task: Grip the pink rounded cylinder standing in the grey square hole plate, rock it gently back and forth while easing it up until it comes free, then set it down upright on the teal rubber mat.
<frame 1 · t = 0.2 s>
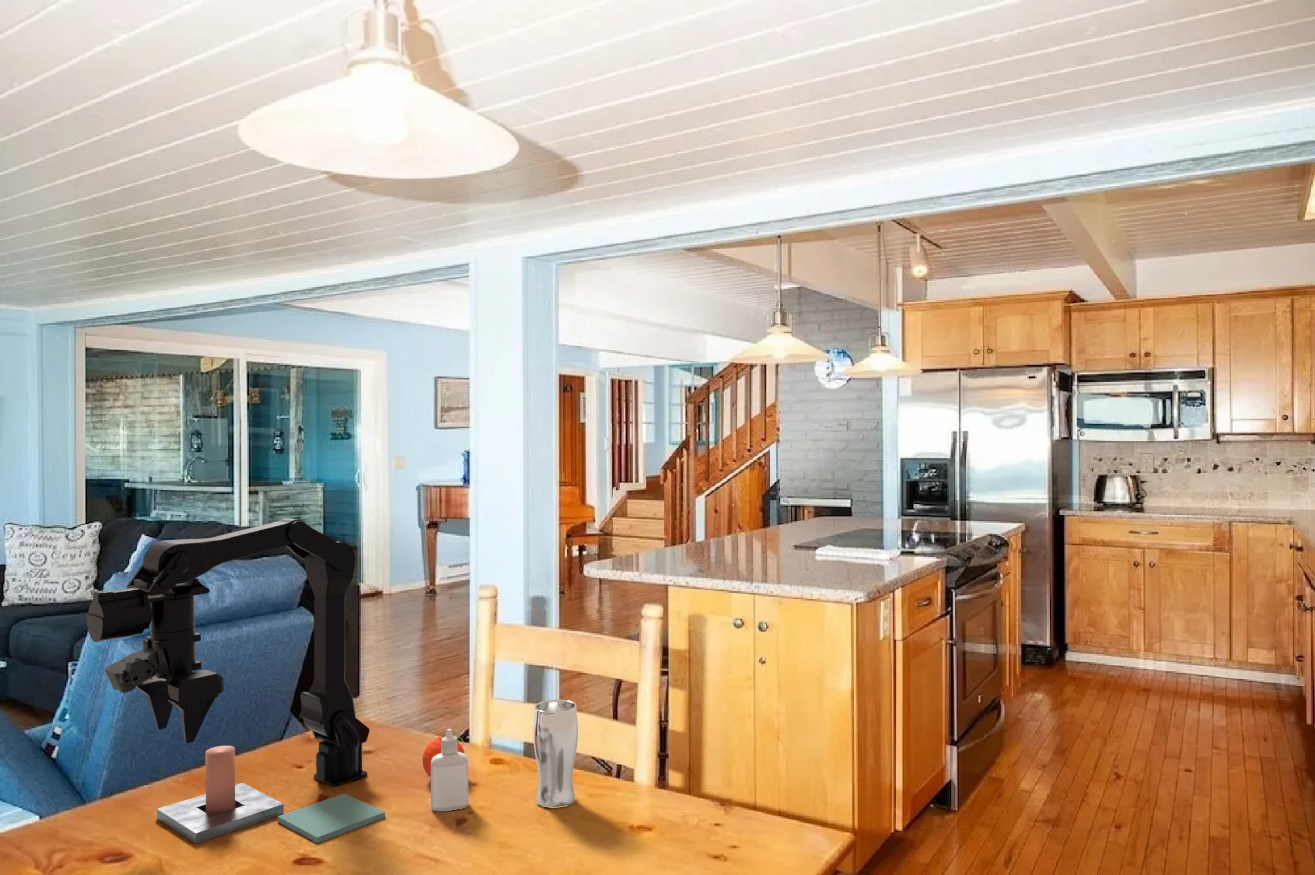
hand: (175, 735, 133), 14 cm above the table, tool pointing down, fingers open, 9 cm apart
grey square hole plate: (220, 816, 138), on the table
pink rounded cylinder: (220, 783, 138), in the grey square hole plate
beer glass: (555, 802, 144), on the table
clementine: (446, 779, 153), on the table
eye dropper bottle: (449, 808, 141), on the table
rubber mat: (331, 819, 137), on the table
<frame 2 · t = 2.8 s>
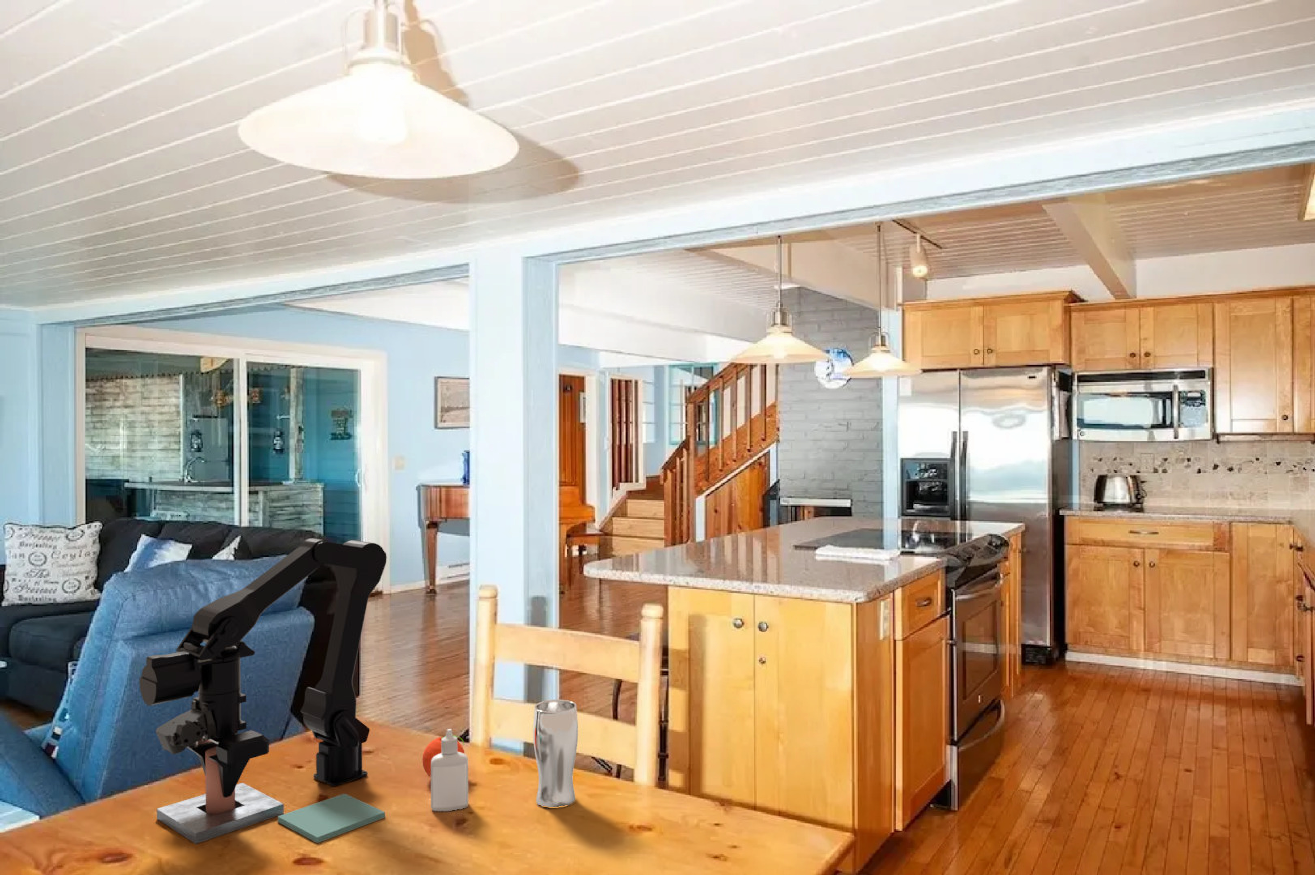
hand: (220, 793, 138), 4 cm above the table, tool pointing down, fingers closed on pink rounded cylinder, 4 cm apart
pink rounded cylinder: (220, 783, 138), in the grey square hole plate, touching gripper
everything else where it was.
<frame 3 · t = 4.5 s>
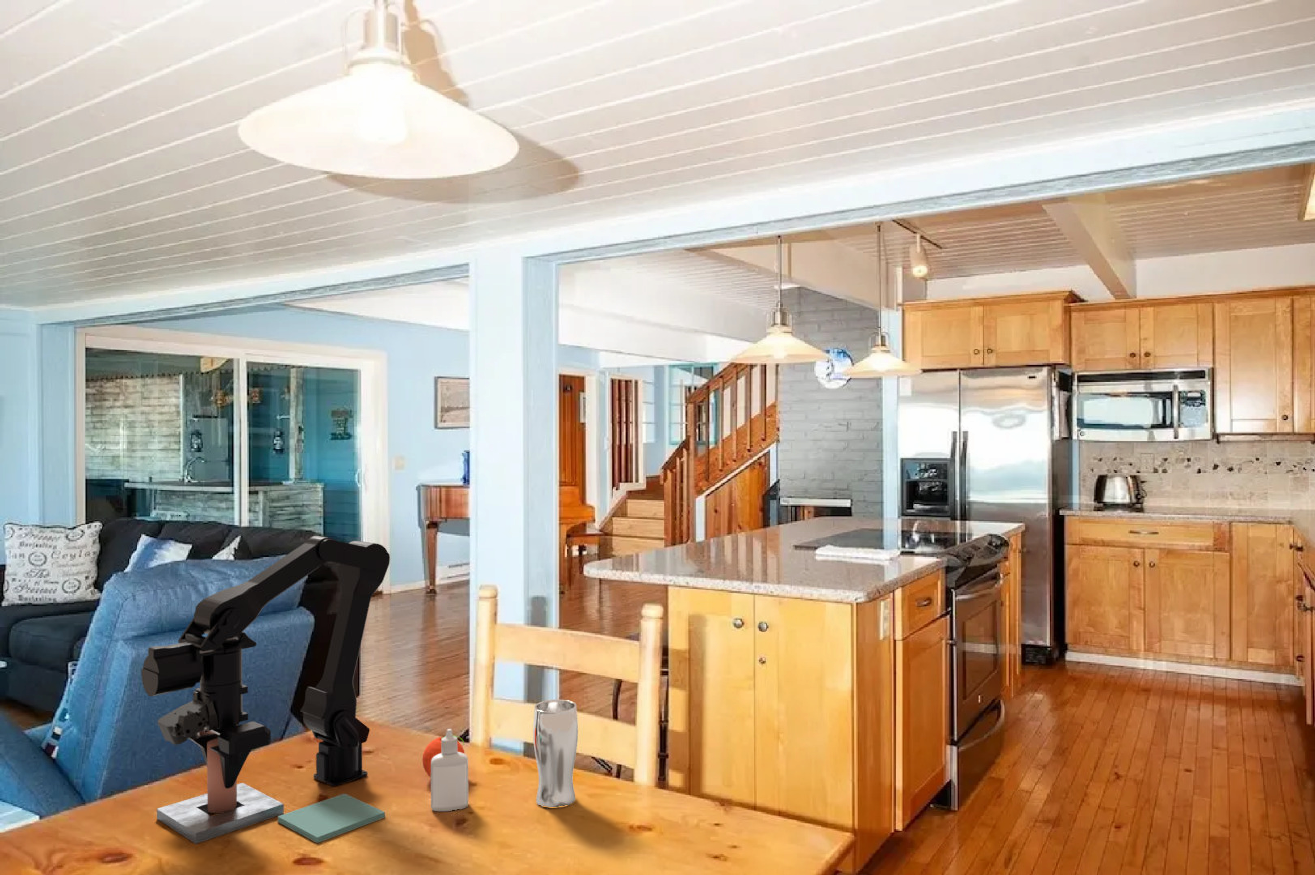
hand: (222, 784, 138), 5 cm above the table, tool pointing down, fingers closed on pink rounded cylinder, 4 cm apart
pink rounded cylinder: (222, 774, 138), point 6 cm above the table, touching gripper
everything else where it was.
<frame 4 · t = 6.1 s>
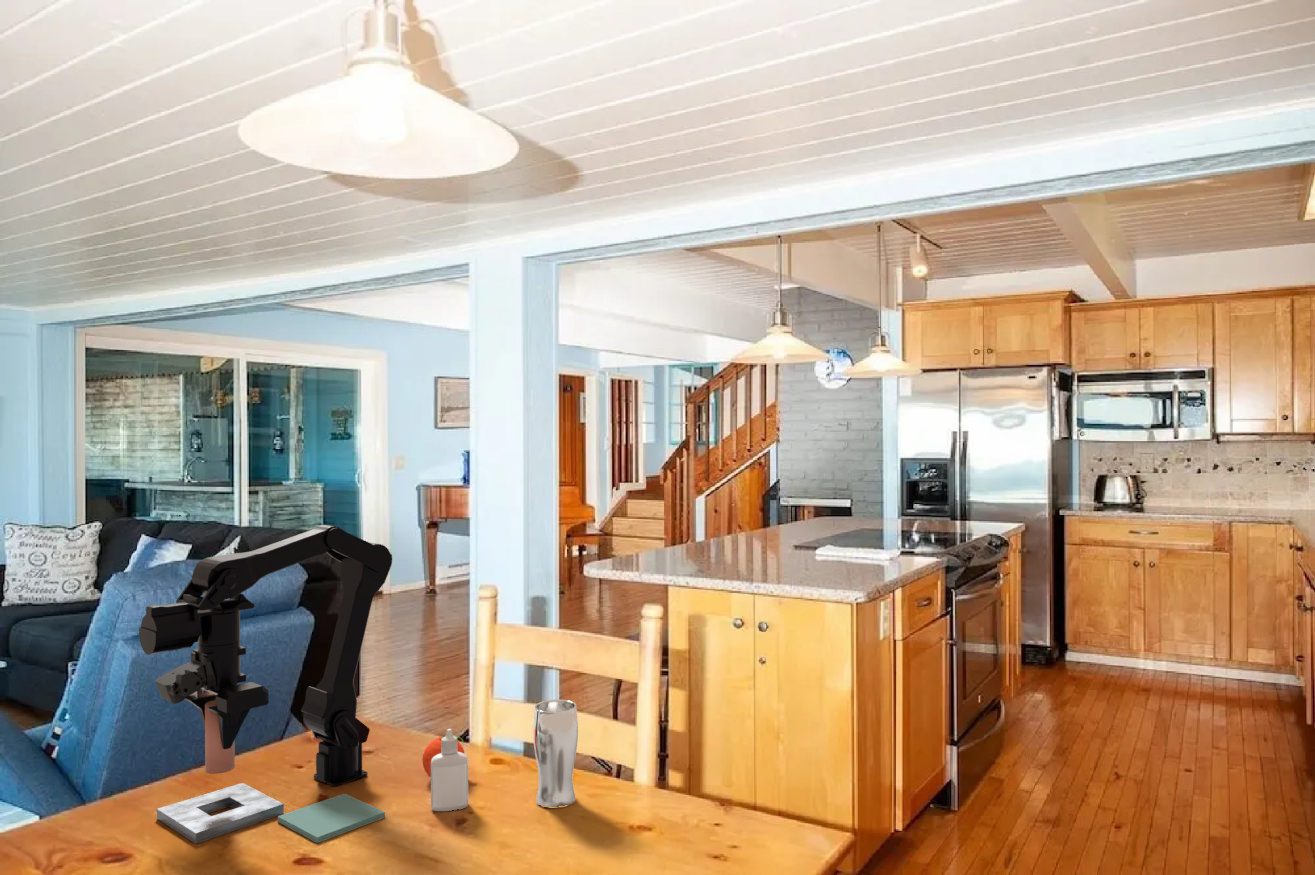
hand: (220, 745, 138), 11 cm above the table, tool pointing down, fingers closed on pink rounded cylinder, 4 cm apart
pink rounded cylinder: (219, 735, 138), point 12 cm above the table, touching gripper
everything else where it was.
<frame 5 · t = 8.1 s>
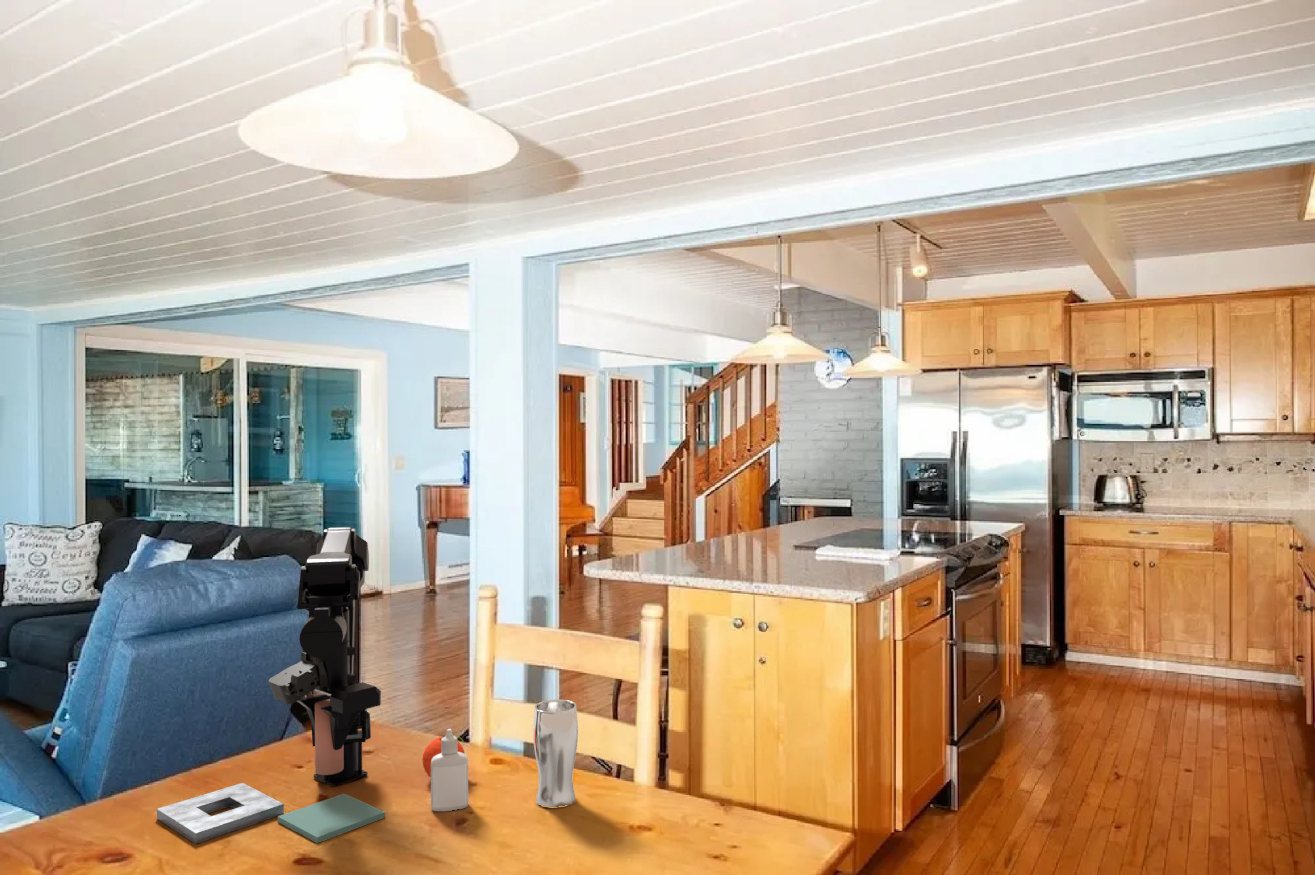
hand: (329, 746, 137), 11 cm above the table, tool pointing down, fingers closed on pink rounded cylinder, 4 cm apart
pink rounded cylinder: (329, 736, 137), point 12 cm above the table, touching gripper
everything else where it was.
when the fingers open (6 cm above the table, at t = 9.6 s): pink rounded cylinder drops 1 cm, resting on rubber mat.
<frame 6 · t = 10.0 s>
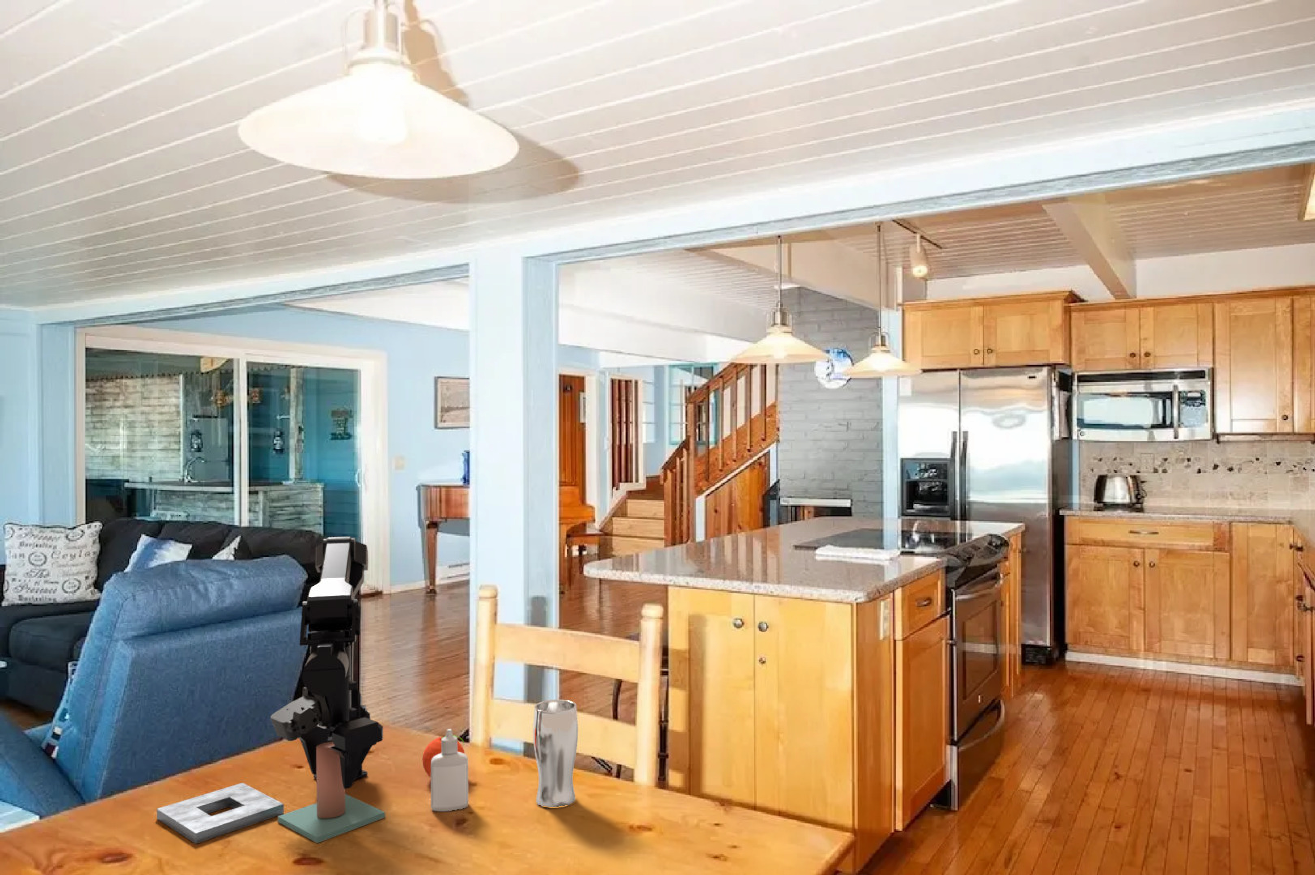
hand: (331, 780, 137), 6 cm above the table, tool pointing down, fingers open, 8 cm apart
pink rounded cylinder: (330, 779, 137), on the rubber mat, point 6 cm above the table
everything else where it was.
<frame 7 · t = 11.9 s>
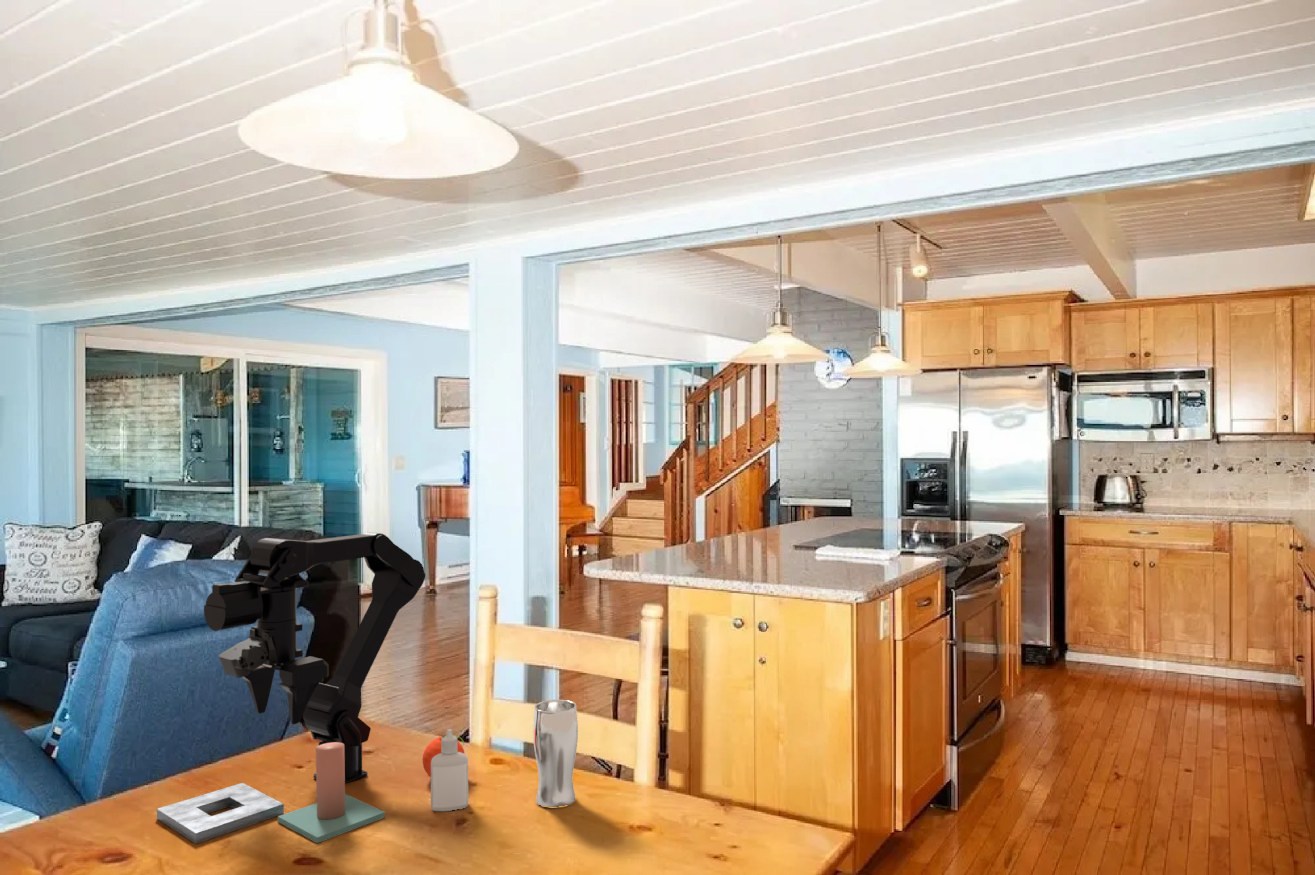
hand: (277, 718, 144), 13 cm above the table, tool pointing down, fingers open, 9 cm apart
nothing on the table moved.
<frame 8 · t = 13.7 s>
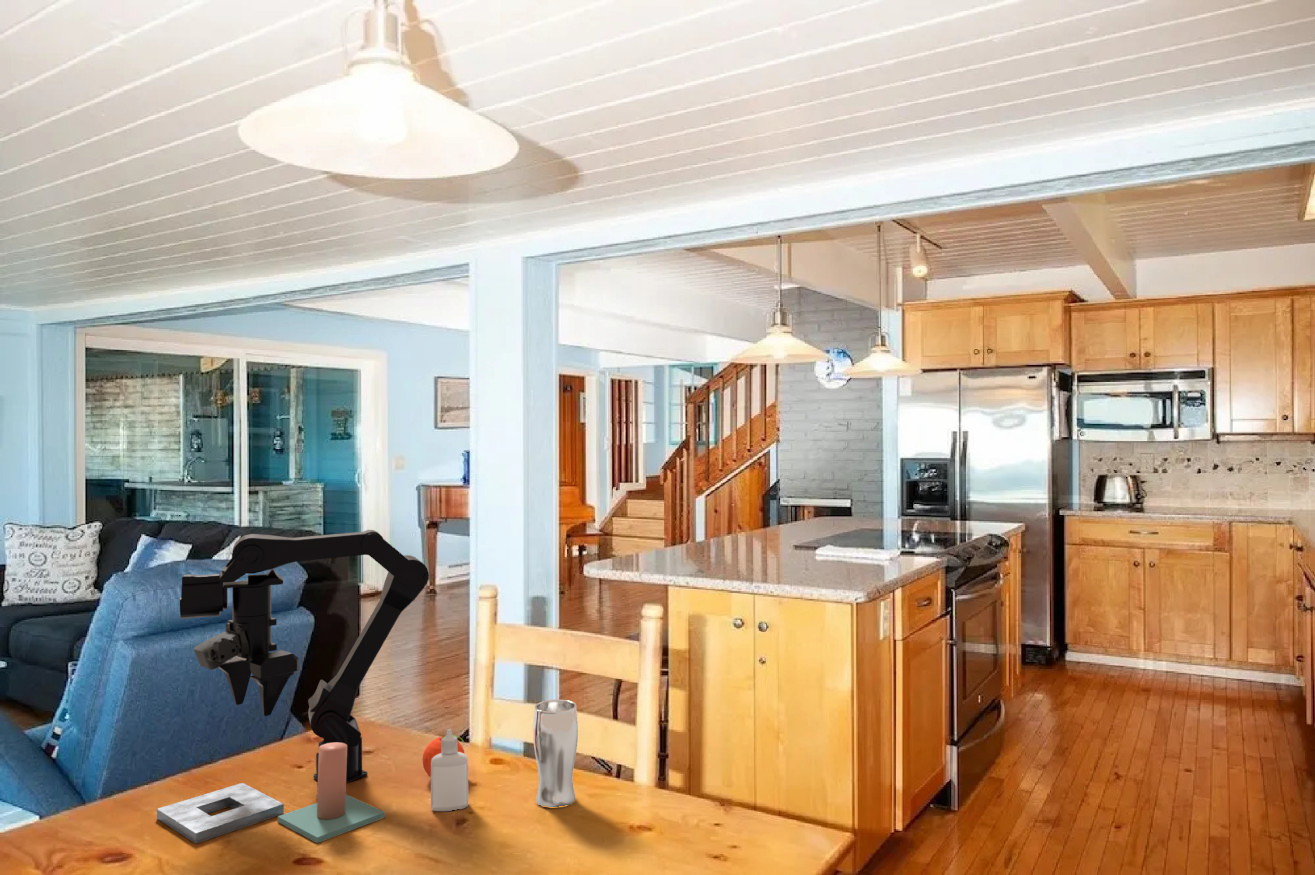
hand: (252, 709, 148), 13 cm above the table, tool pointing down, fingers open, 9 cm apart
nothing on the table moved.
at the end: pink rounded cylinder inside the target area on the rubber mat (0.1 cm from its centre), point 5.9 cm above the rubber mat's base; pink rounded cylinder tilted 2°; the gripper is holding nothing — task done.
